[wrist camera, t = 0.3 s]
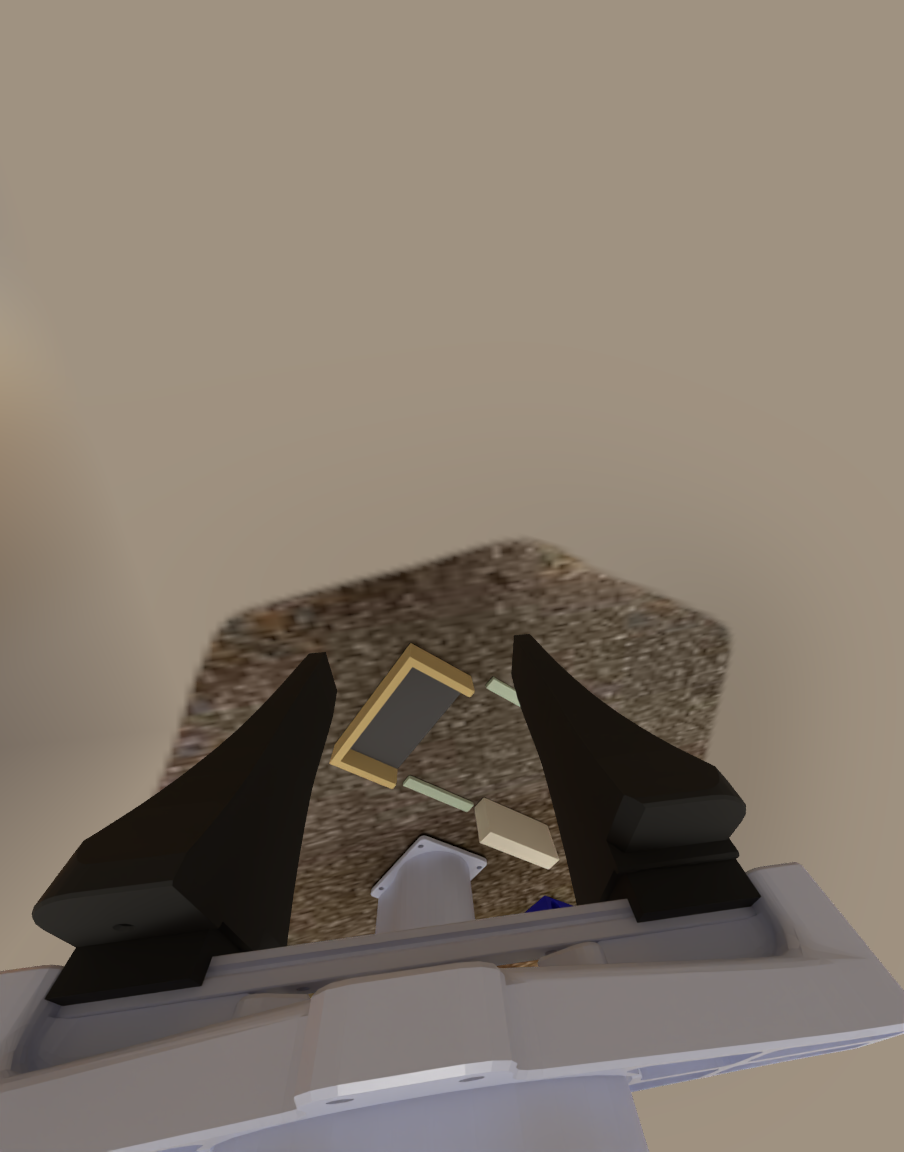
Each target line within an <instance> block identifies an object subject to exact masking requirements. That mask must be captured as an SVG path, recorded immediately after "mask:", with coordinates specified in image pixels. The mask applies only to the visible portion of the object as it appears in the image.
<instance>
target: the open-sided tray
mask: <svg viewBox="0 0 904 1152" xmlns="http://www.w3.org/2000/svg"><path fill="white" fill-rule="evenodd" d="M474 692H475V691H474V687H473V682H472V678H471V676H470V675H468V674H466V673H464V672H462V671H461V670H459V669H457V668H455V667H453V666H451V665H450V664H448V663H446V662H444V661H442V660H441V659H439V658H437V657H435V656H433V655H432V654H430V653H428V652H426V651H424V650H423V649H421V648H419V647H417V646H415V645H414V644H412V643H410V645H409V646H408V647H407V649H406V650H405V651H404V653H403V654H402V655H401V657H400V658H399V659H398V661H397V662H396V663H395V665H394V666H393V667H392V669H391V670H390V671H389V673H388V674H387V675H386V677H385V678H384V679H383V681H382V682H381V683H380V685H379V686H378V687H377V689H376V690H375V691H374V693H373V694H372V695H371V697H370V698H369V699H368V701H367V702H366V703H365V705H364V706H363V708H362V709H361V710H360V712H359V713H358V714H357V716H356V717H355V718H354V720H353V721H352V722H351V724H350V725H349V726H348V728H347V729H346V730H345V732H344V733H343V734H342V736H341V737H340V738H339V740H338V741H337V742H336V744H335V746H334V749H333V753H332V756H331V760H330V763H329V764H332V765H334V766H337V767H339V768H341V769H344V770H346V771H349V772H351V773H354V774H356V775H359V776H361V777H363V778H366V779H368V780H371V781H373V782H376V783H378V784H381V785H383V786H386V787H388V788H390V789H393V788H394V787H395V785H396V782H397V769H398V768H399V767H400V765H401V764H402V763H403V762H404V761H405V759H406V758H407V757H408V756H409V755H410V753H411V752H412V751H413V750H414V749H415V747H416V746H417V745H418V744H419V743H420V741H421V740H422V739H423V738H424V737H425V735H426V734H427V733H428V732H429V731H430V729H431V728H432V727H433V726H434V725H435V723H436V722H437V721H438V720H439V719H440V717H441V716H442V715H443V714H444V713H445V711H446V710H447V709H448V708H449V707H450V705H451V704H452V703H453V702H454V701H455V699H456V698H457V697H458V696H459V695H460V693H462V694H464V695H466V696H468V697H471V696H472V694H473V693H474Z"/></svg>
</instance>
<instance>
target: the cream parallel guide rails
mask: <svg viewBox="0 0 904 1152" xmlns="http://www.w3.org/2000/svg"><path fill="white" fill-rule="evenodd" d="M474 809H475V816H476V822H477V829H478V835H479V842H480V843H482V844H484V845H487V846H490V847H492V848H495V849H497V850H500V851H502V852H505V853H508V854H510V855H513V856H515V857H518V858H520V859H523V860H526V861H528V862H531V863H533V864H536V865H538V866H541V867H544V868H546V869H550V868H551V867H552V866H553V865H554V864H555V863H556V862H558V861H559V857H558V854H557V852H556V849H555V846H554V843H553V840H552V837H551V834H550V831H549V828H548V826H547V825H546V824H544V823H541V822H539V821H537V820H534V819H532V818H530V817H528V816H525V815H523V814H521V813H518V812H516V811H514V810H512V809H509V808H507V807H505V806H502V805H500V804H498V803H496V802H493V801H491V800H489V799H486V798H483V799H482V800H481V801H480V802H479V803H478V804H477V805H476V806H475V807H474Z"/></svg>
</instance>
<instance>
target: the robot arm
mask: <svg viewBox="0 0 904 1152" xmlns="http://www.w3.org/2000/svg"><path fill="white" fill-rule="evenodd" d="M511 674H512V679H513V683H514V687H515V691H516V695H517V699H518V701H519V704H520V707H521V709H522V712H523V715H524V717H525V720H526V723H527V725H528V728H529V731H530V733H531V736H532V738H533V741H534V744H535V746H536V749H537V752H538V754H539V757H540V760H541V763H542V767H543V770H544V774H545V777H546V781H547V785H548V788H549V792H550V796H551V799H552V803H553V807H554V811H555V815H556V818H557V822H558V826H559V830H560V834H561V839H562V843H563V847H564V851H565V855H566V859H567V863H568V868H569V872H570V876H571V881H572V885H573V889H574V894H575V898H576V903H577V906H571V907H564V908H557V909H550V910H543V911H535V912H528V913H521V914H514V915H507V916H500V917H493V918H485V919H478V920H475V916H474V907H473V899H472V890H471V882H470V881H471V880H472V879H473V878H474V877H475V876H476V875H477V874H478V873H479V872H480V871H481V870H482V869H483V868H484V867H485V866H486V865H487V860H486V858H484V857H481V856H479V855H476V854H473V853H471V852H468V851H465V850H463V849H460V848H457V847H455V846H452V845H449V844H447V843H444V842H441V841H439V840H436V839H433V838H431V837H428V836H425V835H423V836H420V837H419V838H418V839H417V840H416V841H415V843H414V844H413V845H412V846H411V847H410V848H409V849H408V850H407V851H406V852H405V853H404V855H403V856H402V857H401V858H400V859H399V860H398V861H397V862H396V863H395V864H394V865H393V866H392V868H391V869H390V870H389V871H388V872H387V873H386V874H385V875H384V876H383V877H382V878H381V879H380V881H379V882H378V883H377V884H376V885H375V886H374V887H373V888H372V890H371V895H372V896H373V897H376V898H379V900H378V910H377V921H376V931H375V934H371V935H364V936H357V937H350V938H343V939H335V940H328V941H321V942H314V943H307V944H300V945H293V946H287V940H288V932H289V924H290V917H291V909H292V902H293V894H294V888H295V881H296V875H297V869H298V862H299V856H300V850H301V844H302V839H303V833H304V827H305V822H306V817H307V811H308V806H309V801H310V796H311V791H312V787H313V783H314V779H315V776H316V772H317V769H318V766H319V762H320V759H321V756H322V752H323V749H324V745H325V742H326V739H327V735H328V732H329V728H330V725H331V721H332V718H333V713H334V707H335V701H336V694H337V689H336V686H335V682H334V679H333V675H332V672H331V669H330V665H329V662H328V659H327V655H326V652H322V653H311V654H308V655H307V657H306V658H305V659H304V660H303V661H302V662H301V663H300V664H299V665H298V667H297V668H296V669H295V670H294V671H293V672H292V673H291V675H290V676H289V677H288V678H287V679H286V680H285V681H284V683H283V684H282V685H281V686H280V687H279V688H278V689H277V690H276V691H275V692H274V693H273V695H272V696H271V697H270V698H269V699H268V700H267V701H266V702H265V703H264V704H263V705H262V706H261V707H260V708H259V709H258V710H257V711H256V712H255V713H254V714H253V715H252V716H251V717H250V718H249V719H248V720H247V721H246V722H245V723H244V724H243V725H242V726H241V727H240V728H239V729H238V730H237V731H235V732H234V733H233V734H232V735H231V736H230V737H229V738H228V739H226V740H225V741H224V742H223V743H222V744H221V745H220V746H218V747H217V748H216V749H215V750H214V751H212V752H211V753H210V754H209V755H207V756H206V757H205V758H204V759H202V760H201V761H200V762H198V763H197V764H196V765H195V766H193V767H192V768H191V769H190V770H188V771H187V772H186V773H185V774H183V775H182V776H181V777H179V778H178V779H176V780H175V781H174V782H172V783H171V784H170V785H168V786H167V787H165V788H164V789H163V790H161V791H160V792H158V793H157V794H155V795H154V796H153V797H151V798H150V799H148V800H147V801H145V802H144V803H142V804H141V805H140V806H138V807H136V808H135V809H133V810H132V811H130V812H129V813H127V814H126V815H124V816H122V817H121V818H119V819H118V820H116V821H115V822H113V823H111V824H110V825H109V826H107V827H105V828H104V829H102V830H100V831H99V832H97V833H96V834H94V835H92V836H91V837H89V838H87V839H86V840H84V841H83V842H82V844H81V845H80V846H79V848H78V849H77V850H76V851H75V853H74V854H73V855H72V857H71V858H70V859H69V861H68V862H67V864H66V865H65V866H64V867H63V869H62V870H61V871H60V873H59V874H58V876H57V877H56V878H55V879H54V881H53V882H52V883H51V885H50V886H49V887H48V889H47V890H46V892H45V893H44V894H43V896H42V897H41V898H40V899H39V901H38V903H37V904H36V905H35V906H34V909H33V911H32V917H33V920H34V922H35V924H36V925H38V926H39V927H40V928H42V929H43V930H45V931H47V932H48V933H50V934H52V935H54V936H56V937H58V938H60V939H61V940H63V941H65V942H67V943H69V944H71V945H72V946H74V947H76V949H75V950H74V952H73V953H72V955H71V957H70V958H69V960H68V961H67V963H66V965H65V966H59V965H42V966H35V967H28V968H21V969H13V970H6V971H0V1152H649V1150H648V1147H647V1144H646V1140H645V1137H644V1134H643V1130H642V1127H641V1124H640V1120H639V1117H638V1114H637V1111H636V1107H635V1104H634V1101H633V1098H632V1094H631V1092H634V1091H640V1090H644V1089H650V1088H655V1087H659V1086H664V1085H670V1084H675V1083H679V1082H684V1081H690V1080H694V1079H699V1078H705V1077H709V1076H714V1075H720V1074H725V1073H729V1072H734V1071H739V1070H745V1069H750V1068H755V1067H760V1066H765V1065H770V1064H775V1063H780V1062H785V1061H791V1060H796V1059H801V1058H807V1057H811V1056H817V1055H823V1054H828V1053H834V1052H839V1051H845V1050H851V1049H856V1048H859V1047H863V1046H865V1045H869V1044H872V1043H876V1042H879V1041H882V1040H885V1039H888V1038H891V1037H895V1036H898V1035H901V1034H904V990H903V989H902V988H901V986H900V985H899V984H898V983H897V981H896V980H895V979H894V978H893V976H892V975H891V974H890V973H889V972H888V970H887V969H886V968H885V967H884V966H883V964H882V963H881V962H880V961H879V959H878V958H877V957H876V956H875V954H874V953H873V952H872V951H871V950H870V948H869V947H868V946H867V945H866V943H865V942H864V941H863V940H862V938H861V937H860V936H859V935H858V934H857V932H856V931H855V930H854V929H853V927H852V926H851V925H850V924H849V922H848V921H847V920H846V919H845V917H844V916H843V915H842V914H841V913H840V911H839V910H838V909H837V908H836V906H835V905H834V904H833V903H832V901H831V900H830V899H829V898H828V897H827V895H826V894H825V893H824V892H823V891H822V889H821V888H820V887H819V885H818V884H817V883H816V882H815V881H814V879H813V878H812V877H811V876H810V874H809V873H808V872H807V871H806V869H805V868H804V867H803V866H802V865H801V864H799V863H797V862H792V863H785V864H778V865H770V866H763V867H758V868H754V869H752V870H749V871H747V872H746V873H745V872H744V870H743V869H742V867H741V866H740V864H739V863H738V862H737V860H736V858H738V857H739V852H738V850H737V849H736V847H735V846H734V845H733V843H732V842H731V840H730V839H729V837H730V836H731V835H732V833H733V832H734V831H735V829H736V828H737V827H738V825H739V824H740V823H741V821H742V820H743V818H744V816H745V814H746V804H745V803H744V802H743V800H742V799H741V798H740V796H739V795H738V794H737V792H736V791H735V790H734V788H733V787H732V786H731V785H730V783H729V782H728V781H727V780H726V778H725V777H724V776H723V775H722V774H721V773H720V772H719V770H718V769H717V768H716V767H715V766H713V765H711V764H709V763H707V762H705V761H703V760H701V759H699V758H697V757H695V756H693V755H691V754H689V753H686V752H684V751H682V750H680V749H678V748H676V747H675V746H673V745H671V744H669V743H667V742H665V741H664V740H662V739H660V738H658V737H656V736H655V735H653V734H651V733H650V732H648V731H646V730H644V729H643V728H641V727H639V726H638V725H636V724H635V723H633V722H632V721H630V720H629V719H627V718H625V717H624V716H622V715H621V714H619V713H618V712H616V711H615V710H613V709H612V708H611V707H609V706H608V705H607V704H605V703H604V702H603V701H601V700H600V699H598V698H597V697H596V696H595V695H593V694H592V693H591V692H590V691H588V690H587V689H586V688H585V687H584V686H582V685H581V684H580V683H579V682H578V681H577V680H575V679H574V678H573V677H572V676H571V675H570V674H569V673H568V672H567V671H566V670H565V669H564V668H563V667H561V666H560V665H559V664H558V663H557V662H556V661H555V660H554V659H553V658H552V657H551V656H550V655H549V654H548V653H547V652H546V651H545V650H544V649H543V647H542V646H541V645H540V644H539V643H538V642H537V641H536V640H535V639H534V638H533V637H532V636H531V635H530V634H525V635H514V643H513V658H512V672H511ZM538 959H539V961H538V966H539V967H524V968H500V969H499V968H498V967H497V966H498V965H504V964H511V963H518V962H524V961H531V960H538ZM310 993H315V994H314V995H313V996H312V997H311V999H310V998H309V996H308V995H307V994H310Z"/></svg>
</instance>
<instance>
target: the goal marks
mask: <svg viewBox="0 0 904 1152" xmlns="http://www.w3.org/2000/svg"><path fill="white" fill-rule="evenodd" d="M485 686H486V688H487V689H489V690H490V691H492V692H494V693H496V694H498V695H500V696H501V697H503V698H505V699H507V700H509V701H510V702H512V703H514V704H516V705H518V706H520V704H519V701H518V699H517V695H516V691H515V689H514V688H512V687H510V686H509V685H507V684H505V683H503V682H502V681H500V680H498V679H496V678H495V677H492V678H491V680H490V681H489V682H488V683H487V684H486V685H485ZM403 786H405V787H408V788H410V789H412V790H415V791H417V792H420V793H422V794H424V795H427V796H429V797H432V798H434V799H436V800H439V801H441V802H444V803H446V804H449V805H451V806H453V807H456V808H458V809H461V810H463V811H465V812H468V811H469V810H470V809H471V808H472V807H473V806H474V804H473V802H471V801H469V800H467V799H464V798H462V797H460V796H457V795H455V794H453V793H450V792H448V791H446V790H443V789H441V788H439V787H436V786H434V785H432V784H429V783H427V782H424V781H422V780H420V779H417V778H415V777H413V776H410V775H409V776H408V777H407V778H406V780H405V781H404V782H403Z"/></svg>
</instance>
